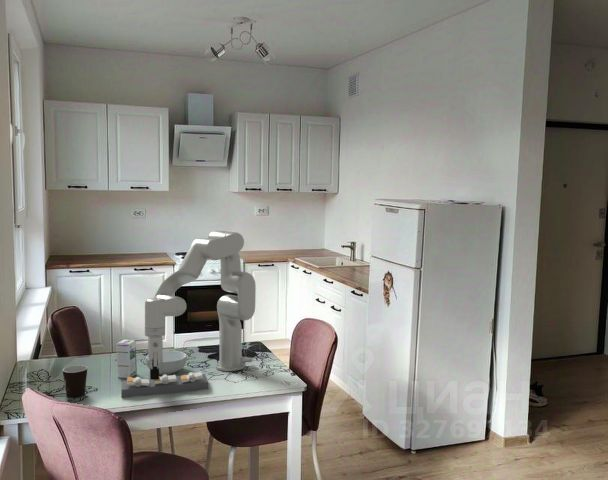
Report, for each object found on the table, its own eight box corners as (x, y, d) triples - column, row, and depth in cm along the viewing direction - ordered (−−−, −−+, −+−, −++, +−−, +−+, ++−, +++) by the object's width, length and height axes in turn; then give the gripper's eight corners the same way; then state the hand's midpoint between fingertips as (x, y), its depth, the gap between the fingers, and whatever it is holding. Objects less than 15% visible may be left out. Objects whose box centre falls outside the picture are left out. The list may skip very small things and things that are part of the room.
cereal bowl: (172, 380, 230) (172, 363, 229) (137, 375, 235) (137, 358, 235) (194, 368, 245) (194, 352, 245) (161, 363, 251) (161, 348, 250)
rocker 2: (201, 375, 224) (200, 369, 223) (203, 379, 220) (202, 373, 219) (181, 380, 222) (180, 374, 221) (182, 384, 217) (181, 378, 217)
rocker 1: (148, 383, 218) (149, 377, 218) (148, 387, 214) (149, 381, 214) (126, 382, 215) (127, 375, 215) (126, 385, 211) (127, 379, 211)
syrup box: (130, 378, 231) (129, 343, 230) (116, 377, 232) (116, 342, 231) (136, 374, 237) (136, 340, 236) (123, 373, 238) (123, 339, 237)
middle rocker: (175, 379, 221) (175, 373, 221) (176, 382, 217) (176, 376, 216) (154, 381, 219) (154, 375, 218) (155, 385, 214) (154, 379, 214)
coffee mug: (84, 398, 209) (83, 372, 208) (59, 399, 208) (59, 372, 207) (93, 387, 220) (92, 362, 219) (70, 388, 219) (69, 362, 219)
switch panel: (205, 381, 229) (204, 373, 229) (208, 389, 220) (208, 381, 219) (121, 388, 220) (121, 380, 219) (121, 397, 210) (121, 388, 210)
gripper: (166, 335, 209) (165, 384, 210) (164, 326, 223) (163, 372, 224) (145, 336, 206) (144, 385, 208) (144, 327, 221) (143, 373, 222)
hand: (154, 378), depth 216 cm, fingers closed
